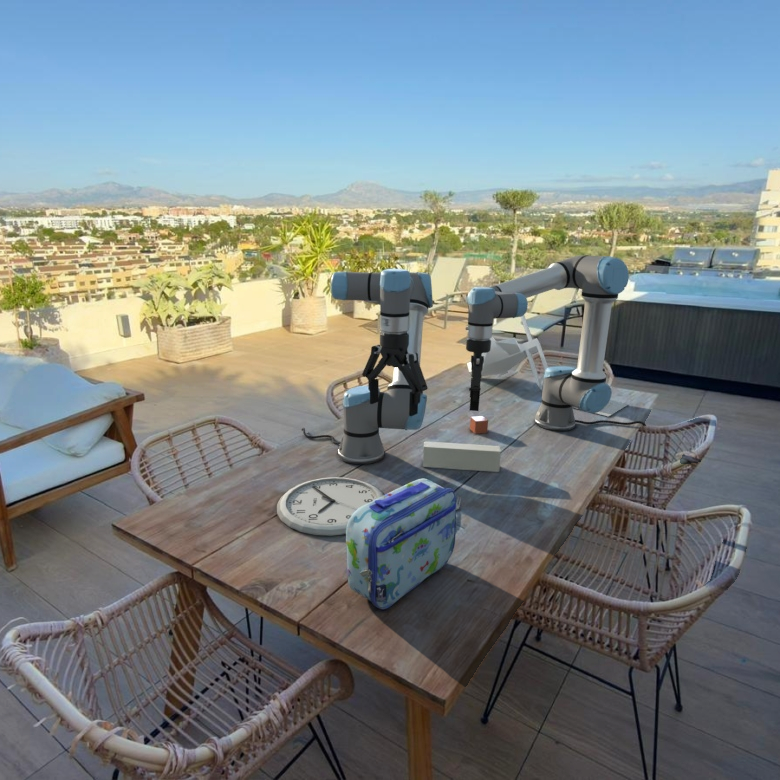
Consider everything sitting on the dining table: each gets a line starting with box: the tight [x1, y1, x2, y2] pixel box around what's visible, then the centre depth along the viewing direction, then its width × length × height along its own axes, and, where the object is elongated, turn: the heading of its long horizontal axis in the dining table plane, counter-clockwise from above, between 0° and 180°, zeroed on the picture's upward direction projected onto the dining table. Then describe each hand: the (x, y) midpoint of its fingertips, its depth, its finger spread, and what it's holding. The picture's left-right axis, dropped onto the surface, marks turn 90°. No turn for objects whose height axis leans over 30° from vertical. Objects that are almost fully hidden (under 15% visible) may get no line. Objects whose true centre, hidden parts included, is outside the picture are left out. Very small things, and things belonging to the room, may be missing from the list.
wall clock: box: [276, 476, 385, 537], centre depth 143 cm, size 30×2×30 cm
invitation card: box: [573, 400, 628, 418], centre depth 226 cm, size 21×1×15 cm
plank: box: [422, 440, 502, 473], centre depth 166 cm, size 24×4×7 cm, turn 83°
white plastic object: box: [466, 314, 549, 391], centre depth 258 cm, size 37×45×31 cm
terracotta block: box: [469, 415, 489, 435], centre depth 196 cm, size 5×5×5 cm
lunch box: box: [345, 477, 457, 610], centre depth 110 cm, size 26×11×21 cm, turn 134°
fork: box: [456, 495, 462, 511], centre depth 138 cm, size 3×16×2 cm, turn 160°
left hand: (393, 408), depth 141 cm, fingers open, 13 cm apart
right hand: (473, 403), depth 168 cm, fingers open, 13 cm apart
